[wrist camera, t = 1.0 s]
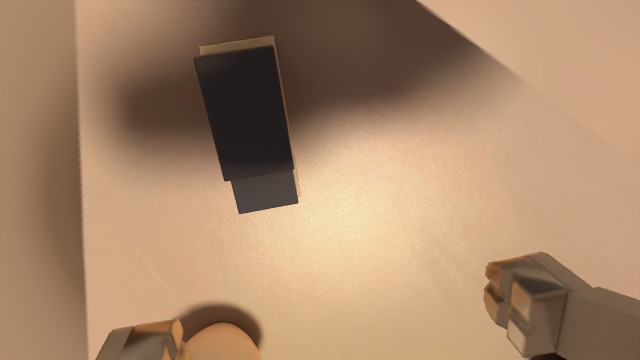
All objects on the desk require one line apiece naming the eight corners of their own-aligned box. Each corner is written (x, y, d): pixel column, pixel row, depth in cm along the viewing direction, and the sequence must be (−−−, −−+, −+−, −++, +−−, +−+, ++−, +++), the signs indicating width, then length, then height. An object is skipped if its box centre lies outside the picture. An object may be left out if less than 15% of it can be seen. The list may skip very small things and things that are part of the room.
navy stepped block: (201, 46, 23) (185, 48, 18) (273, 35, 23) (275, 35, 19) (239, 200, 27) (234, 234, 22) (299, 189, 27) (306, 220, 23)
